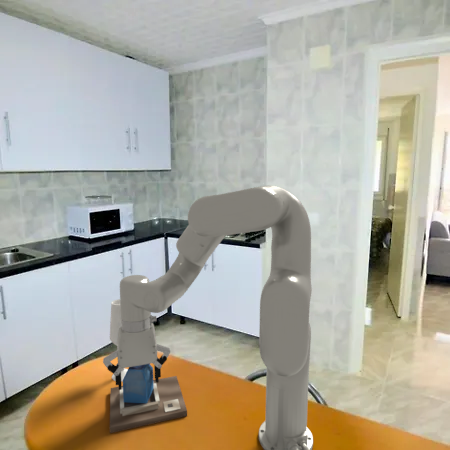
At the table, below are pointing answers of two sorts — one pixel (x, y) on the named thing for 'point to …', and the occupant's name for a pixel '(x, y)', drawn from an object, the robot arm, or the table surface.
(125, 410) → the board
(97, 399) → the table surface
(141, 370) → the perfume bottle
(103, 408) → the table surface
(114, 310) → the champagne flute
